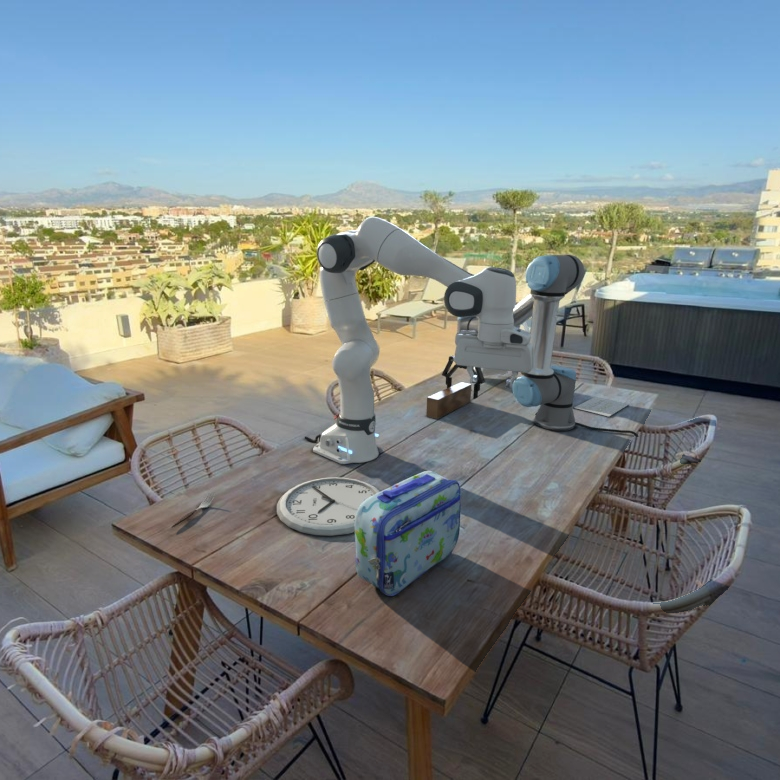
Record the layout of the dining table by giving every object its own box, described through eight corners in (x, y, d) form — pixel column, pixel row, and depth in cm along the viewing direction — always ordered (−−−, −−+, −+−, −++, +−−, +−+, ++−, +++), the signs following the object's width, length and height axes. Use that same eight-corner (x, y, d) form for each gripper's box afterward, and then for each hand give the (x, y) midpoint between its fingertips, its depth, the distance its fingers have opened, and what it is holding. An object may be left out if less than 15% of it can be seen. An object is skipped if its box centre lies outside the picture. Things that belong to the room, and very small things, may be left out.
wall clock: (392, 527, 129) (268, 531, 127) (391, 533, 130) (269, 537, 127) (383, 473, 158) (282, 475, 155) (383, 478, 158) (282, 480, 156)
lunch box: (383, 609, 104) (384, 516, 98) (348, 583, 111) (347, 495, 105) (463, 555, 122) (469, 473, 115) (429, 536, 129) (432, 458, 123)
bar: (460, 399, 233) (461, 381, 230) (470, 401, 230) (471, 384, 227) (426, 416, 211) (427, 397, 209) (437, 419, 208) (437, 399, 206)
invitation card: (608, 416, 214) (573, 407, 224) (608, 416, 214) (573, 408, 224) (628, 404, 229) (594, 396, 238) (628, 405, 229) (594, 397, 238)
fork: (167, 528, 130) (166, 521, 130) (209, 498, 145) (208, 492, 144) (175, 530, 130) (174, 523, 129) (216, 500, 144) (216, 494, 143)
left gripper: (452, 331, 134) (449, 383, 138) (533, 338, 127) (528, 392, 131) (458, 327, 140) (456, 377, 144) (537, 334, 133) (531, 386, 137)
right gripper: (435, 344, 225) (433, 391, 232) (487, 352, 212) (483, 402, 218) (444, 341, 231) (442, 387, 238) (495, 349, 217) (491, 398, 224)
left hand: (491, 384), depth 138 cm, fingers open, 8 cm apart
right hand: (461, 395), depth 228 cm, fingers open, 12 cm apart
